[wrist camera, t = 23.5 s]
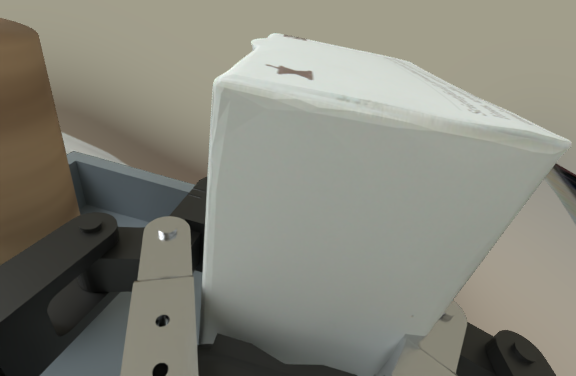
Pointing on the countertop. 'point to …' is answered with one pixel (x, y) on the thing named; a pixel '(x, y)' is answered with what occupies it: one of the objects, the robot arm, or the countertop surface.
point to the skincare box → (352, 200)
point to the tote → (128, 213)
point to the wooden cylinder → (29, 146)
